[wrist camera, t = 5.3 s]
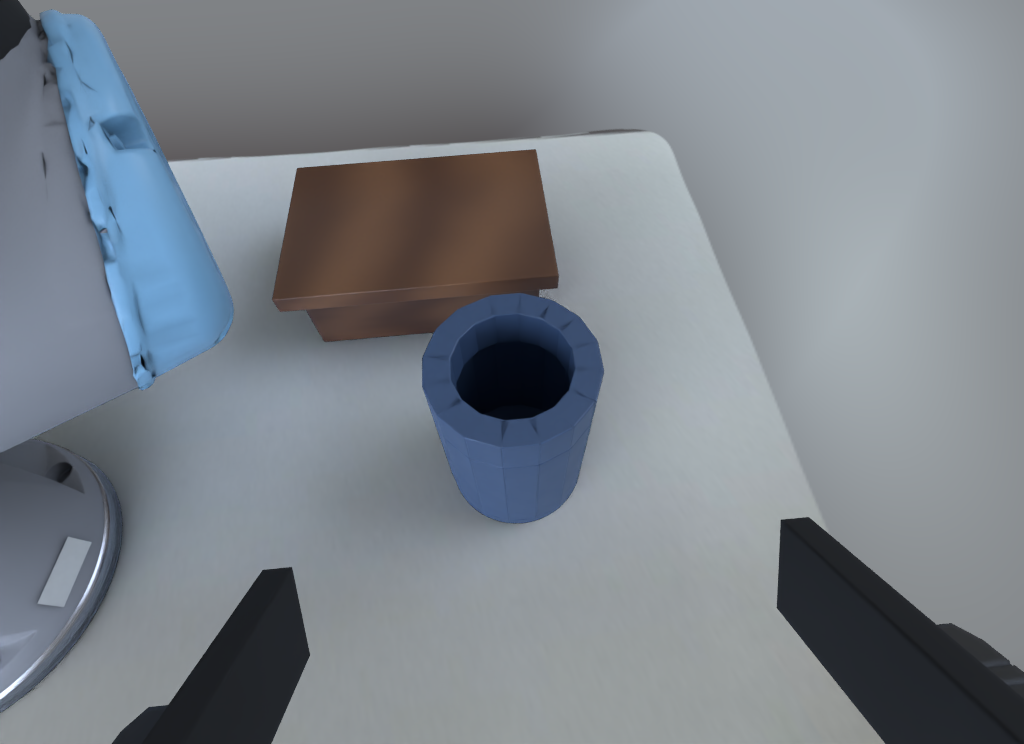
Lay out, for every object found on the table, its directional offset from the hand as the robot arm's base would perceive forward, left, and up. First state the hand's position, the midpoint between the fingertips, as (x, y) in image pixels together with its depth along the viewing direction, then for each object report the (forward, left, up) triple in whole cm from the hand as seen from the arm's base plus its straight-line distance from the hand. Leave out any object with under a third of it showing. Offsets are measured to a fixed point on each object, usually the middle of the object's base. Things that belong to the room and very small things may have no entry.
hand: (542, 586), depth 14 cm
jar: (0, +9, -15) cm, 17 cm away
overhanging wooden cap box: (-5, +24, -15) cm, 29 cm away
